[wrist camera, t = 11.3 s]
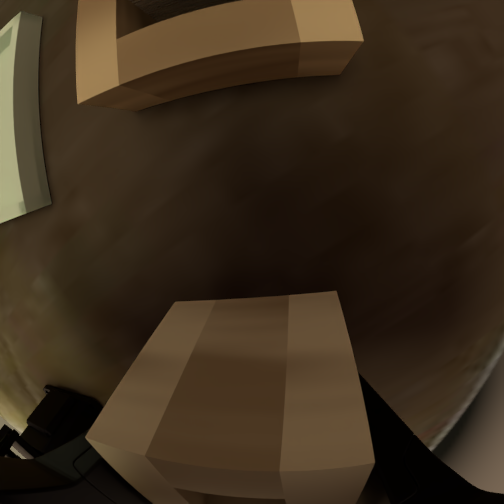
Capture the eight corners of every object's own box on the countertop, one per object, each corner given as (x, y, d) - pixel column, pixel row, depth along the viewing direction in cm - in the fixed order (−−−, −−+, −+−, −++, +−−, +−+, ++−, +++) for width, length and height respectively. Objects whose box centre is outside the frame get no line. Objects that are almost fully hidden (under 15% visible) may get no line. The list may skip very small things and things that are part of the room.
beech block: (333, 401, 10) (341, 529, 5) (209, 403, 11) (172, 518, 5) (336, 290, 8) (374, 462, 3) (175, 301, 9) (85, 437, 4)
